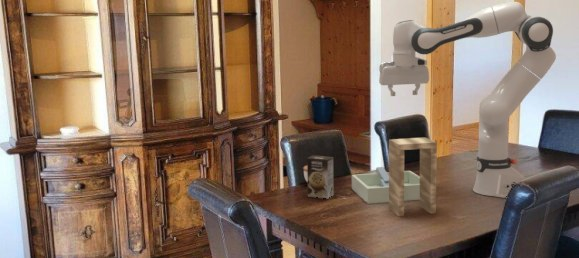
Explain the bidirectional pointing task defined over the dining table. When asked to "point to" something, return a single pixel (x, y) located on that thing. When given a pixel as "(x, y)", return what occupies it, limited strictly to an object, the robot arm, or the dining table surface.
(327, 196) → the cookie box
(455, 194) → the dining table surface
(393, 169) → the birch stand
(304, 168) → the lidded jar
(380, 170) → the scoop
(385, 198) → the pale green tray
